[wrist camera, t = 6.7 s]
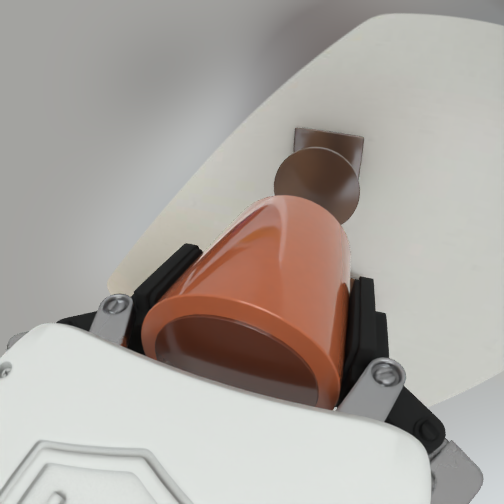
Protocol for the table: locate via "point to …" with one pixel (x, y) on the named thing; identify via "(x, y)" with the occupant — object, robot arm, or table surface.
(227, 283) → the terracotta cup
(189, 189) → the table surface
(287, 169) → the cat scratching post
